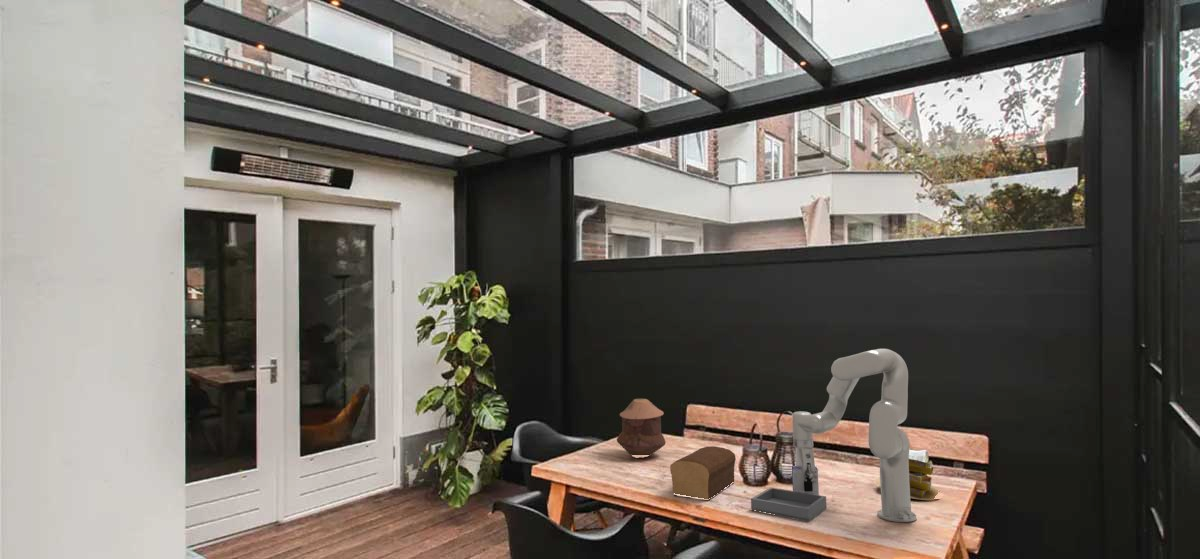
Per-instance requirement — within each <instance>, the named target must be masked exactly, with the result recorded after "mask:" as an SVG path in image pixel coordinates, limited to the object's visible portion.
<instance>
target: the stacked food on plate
mask: <svg viewBox="0 0 1200 559" xmlns="http://www.w3.org/2000/svg"><path fill="white" fill-rule="evenodd" d="M933 471H934V466H933V461H932V460H929V453H928V451H927V449H922V450H916V449H910V448H909V483H910V499H915V500H920V501H935V500H934V498H935V496H936V495H937V494H938V492H940V491H941V490H939V489H938V488H936V487H934V486H932V480H933V479H932V477H931V475H932V474H933ZM874 482H875V484H876V485H877V486H878V487H880V488H881V485H880V476H878V477H876V478H875V479H874Z"/></svg>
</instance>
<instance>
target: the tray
mask: <svg viewBox="0 0 1200 559" xmlns="http://www.w3.org/2000/svg"><path fill="white" fill-rule="evenodd" d="M750 509H752V510H756V511H761V512H766V513H771V514H775V515H774V516H776V515H780V516H779V517H781V516H784V517H783V518H786V517H789V518H788V519H791V518H794V519H793V520H796V519H798V520H797V521H802V522H808V523H809V521H810V522H811V521H812V520H814V519H815V518H816V517H817V516H819V515H820V514H822V513H823V512H824V511H825V510H827V496H825V495H820V494H819V495H814V494H808V493H802V492H796V491H793V490H788V489H783V488H777V487H769V488H767V489H766V490H764V491H762V492H760V493H758V494H757V495H754V496H753V497H751V498H750Z"/></svg>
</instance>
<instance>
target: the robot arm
mask: <svg viewBox="0 0 1200 559" xmlns="http://www.w3.org/2000/svg"><path fill="white" fill-rule="evenodd" d="M830 368H831V369H830V370H831V371H830V372H831V374H832V377H831V379H830V381H829V383H828V384H827V386H826V392H827V393H828V395H829V396H828V401H827V403H826V405H825V407H824V409H823V410H822V411H821V412H817V413H813V414H811V412H808V411H801V410H799V411H794V412H793V413H792V417H791V418H792V436H793V437H792V440H793V448H794V450H795V452H794V457H795V458H794V459H795V462H796V466H797V467H799V468H800V469H801V472H802V473H803V474H804V479H805V481H804V491H805V492H810V491H813V484H812V481H813V480H812V478H813V477H812V476H813V474H814V473H815V466H816V464H815V455H814V449H813V448H814V434H815V435H816V434H817V435H820V434H825V433H826V432H830V431H832V430H833V429H835V428H836V427H837V426H838V424H839V423H840V422H841V419H842V418H843V416H844V414H845V411H846V408H847V405H848V400H849V398H850V396H851V394H852V392H853V391H854V388H855V387H856V385H857V383H858V382H859V381H860V379H861V378H864V377H867V376H872V375H877V374H881V373H882V374H883V379H882V383H881V399H880V400H879V401H877V402H875V403H874V404H872V407H871V408H870V412H869V418H868V420H869V421H868V447H869V450H870V452H871V453H872V454H873V456H874V457H876V458H878V459H879V477H880V485H881V487H880V502H881V503H880V504H881V508H880V509H878V510H877V511H876V512H877V516H878V517H879V518H880V519H882V520H884V521H889V522H894V523H911V522H914V521H916V520H917V514H915V513H914V512H913V511H912V503H911V498H910V483H909V449H910V439H909V436H908V435H907V433H906V432H905V431H904V430H903V429H902V428H899V427H898V425H901V424H902V423H904V422H905V421H906V420H907V418H908V402H909V401H908V398H909V396H908V395H909V392H908V389H909V388H908V387H909V370H908V367H907V364H906V362H905V360H904V359H903V357H902V356H901V355H900V354H899V353H897V352H895V351H893V350H891V349H889V348H877V349H871V350H867V351H866V350H865V351H863V352H859V353H856V354H852V355H848V356H844V357H839V358H837V359H836V360H834V361H833V363H832V365H831V367H830ZM806 472H808V473H806ZM806 475H808V476H807V477H806Z"/></svg>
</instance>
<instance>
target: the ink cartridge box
mask: <svg viewBox="0 0 1200 559" xmlns="http://www.w3.org/2000/svg"><path fill="white" fill-rule="evenodd" d="M818 471H819V469H818V468H817V466H816V465H815V473H814V474H813V476H812V477H813V478H812V480H813V481H812V484H813V491H810V492H805V491H804V481H805V479H804V474H803V473H802V472H801V469H800V468H799V467H797V466H792V473H791V482H792V491H796V492H802V493H808V494H814V495H820V491H819V490H820V489H819V486H820V485H819V472H818ZM806 473H808V472H806ZM807 476H808V475H806V477H807Z"/></svg>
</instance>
